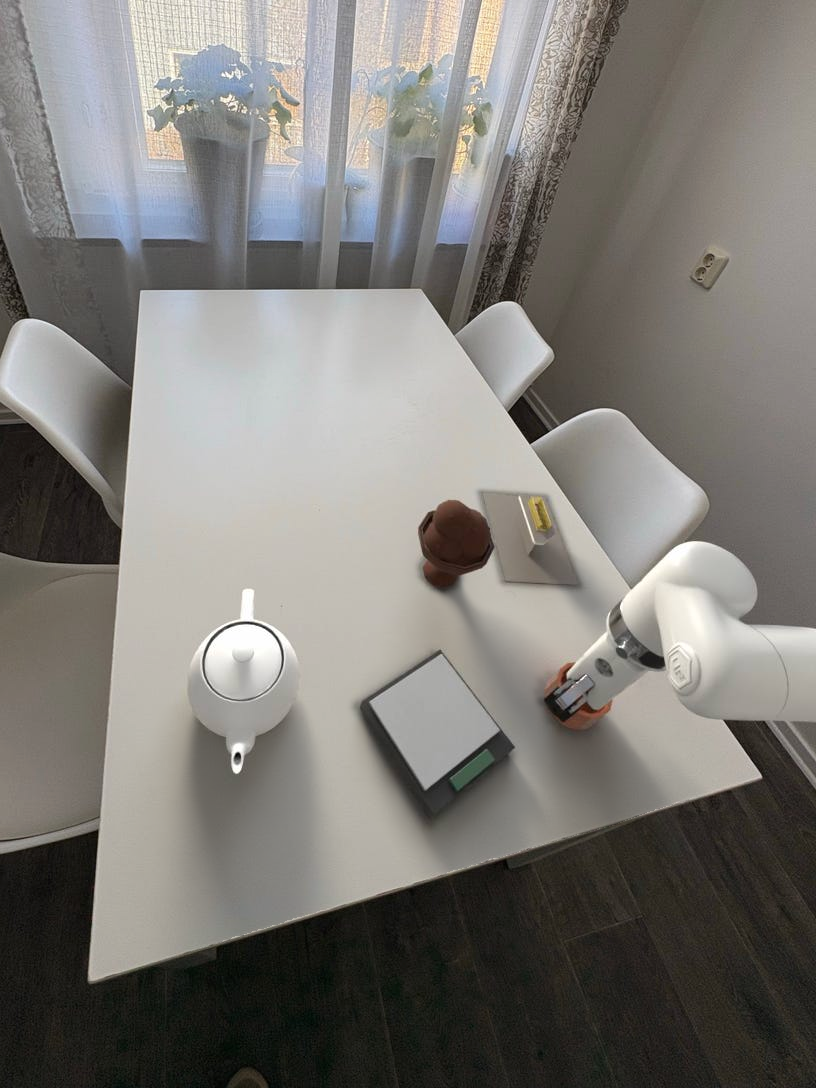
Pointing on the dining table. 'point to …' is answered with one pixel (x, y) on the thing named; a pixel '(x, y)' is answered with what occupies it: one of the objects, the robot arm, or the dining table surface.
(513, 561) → the platform
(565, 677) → the dip bowl
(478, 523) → the ice cream bowl
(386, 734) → the scale
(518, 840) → the dining table surface
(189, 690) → the teapot
